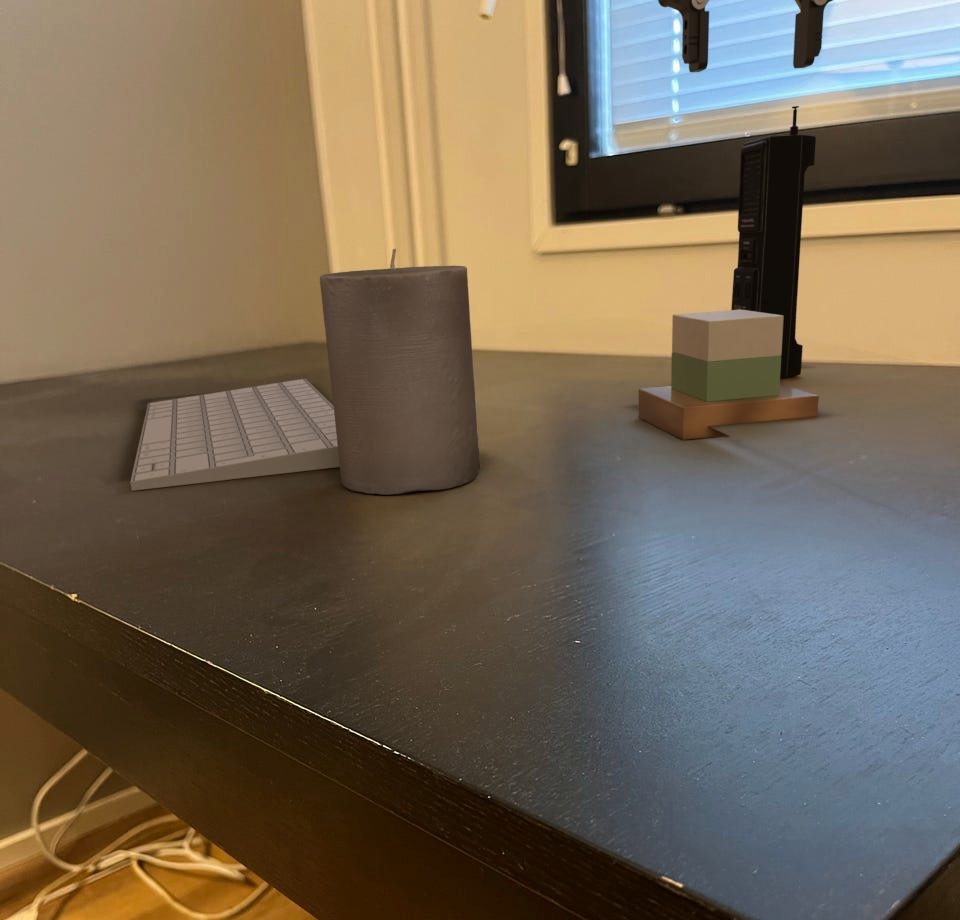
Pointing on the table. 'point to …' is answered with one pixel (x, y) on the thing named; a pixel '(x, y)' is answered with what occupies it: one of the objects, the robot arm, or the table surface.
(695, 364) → the green pad
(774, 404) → the brown l-shaped block
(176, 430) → the computer keyboard
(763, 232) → the portable radio
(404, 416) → the pillar candle
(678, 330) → the beige block
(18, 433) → the table surface
